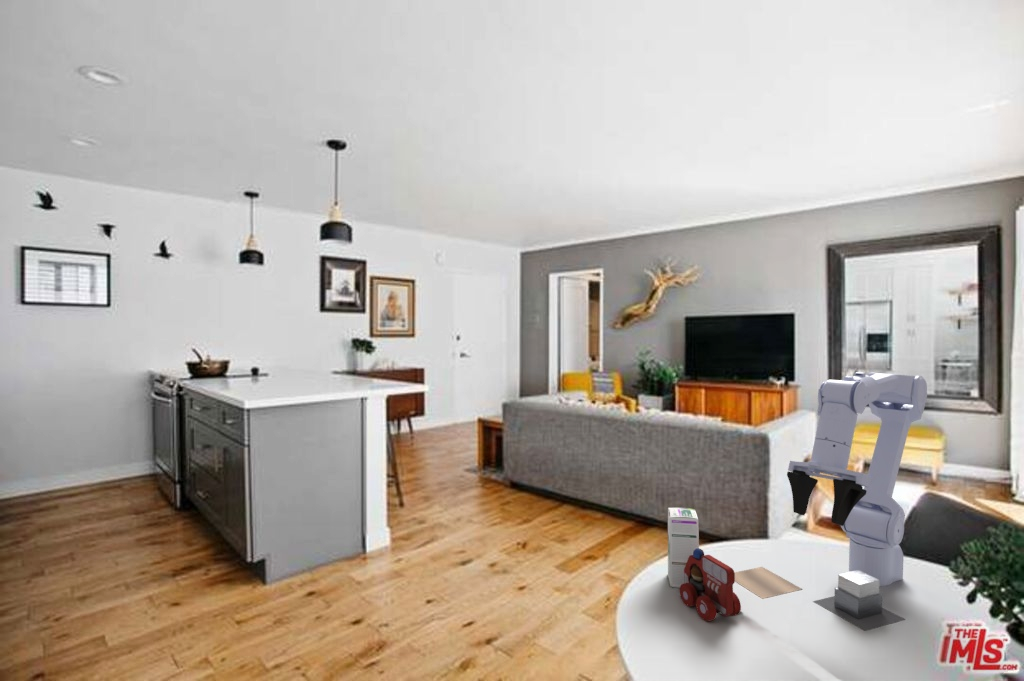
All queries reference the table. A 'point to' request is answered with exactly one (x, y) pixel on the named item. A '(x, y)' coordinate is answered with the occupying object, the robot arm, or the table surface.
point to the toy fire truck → (709, 586)
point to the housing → (858, 595)
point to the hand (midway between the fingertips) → (817, 518)
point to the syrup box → (681, 542)
